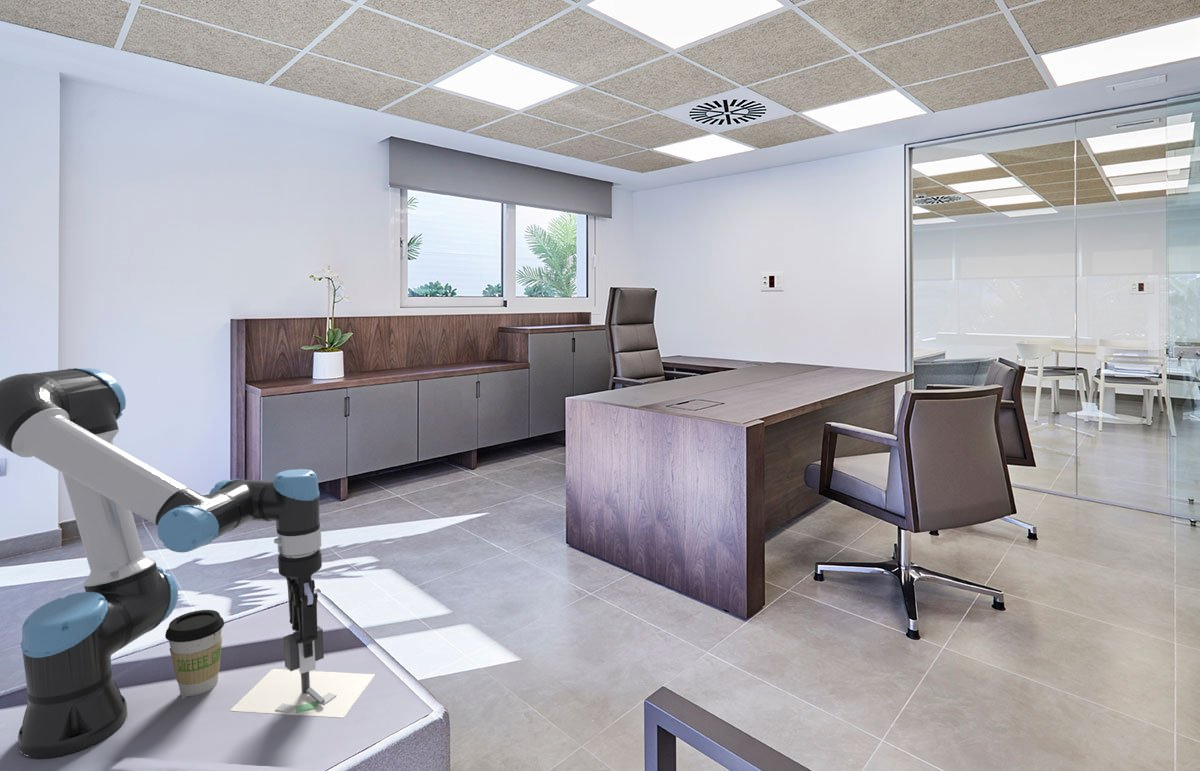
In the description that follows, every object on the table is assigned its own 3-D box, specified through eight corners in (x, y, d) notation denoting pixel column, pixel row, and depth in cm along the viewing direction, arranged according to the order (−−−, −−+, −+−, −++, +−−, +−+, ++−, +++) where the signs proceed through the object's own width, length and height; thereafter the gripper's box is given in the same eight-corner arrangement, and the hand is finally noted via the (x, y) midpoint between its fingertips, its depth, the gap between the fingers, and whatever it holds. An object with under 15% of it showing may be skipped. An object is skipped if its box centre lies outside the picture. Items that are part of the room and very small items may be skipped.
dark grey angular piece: (286, 695, 123) (283, 636, 122) (318, 681, 128) (316, 624, 127) (305, 713, 118) (302, 652, 117) (338, 698, 123) (336, 639, 121)
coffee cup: (200, 709, 121) (195, 635, 119) (157, 702, 123) (151, 629, 121) (239, 680, 131) (235, 611, 129) (198, 674, 132) (193, 605, 131)
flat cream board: (229, 716, 119) (229, 709, 119) (272, 674, 133) (272, 667, 133) (343, 723, 118) (343, 716, 117) (375, 679, 131) (375, 673, 131)
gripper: (268, 542, 126) (274, 654, 128) (288, 569, 113) (294, 693, 116) (309, 534, 130) (314, 642, 133) (332, 559, 118) (337, 678, 120)
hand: (304, 666), depth 124 cm, fingers closed on dark grey angular piece, 3 cm apart
